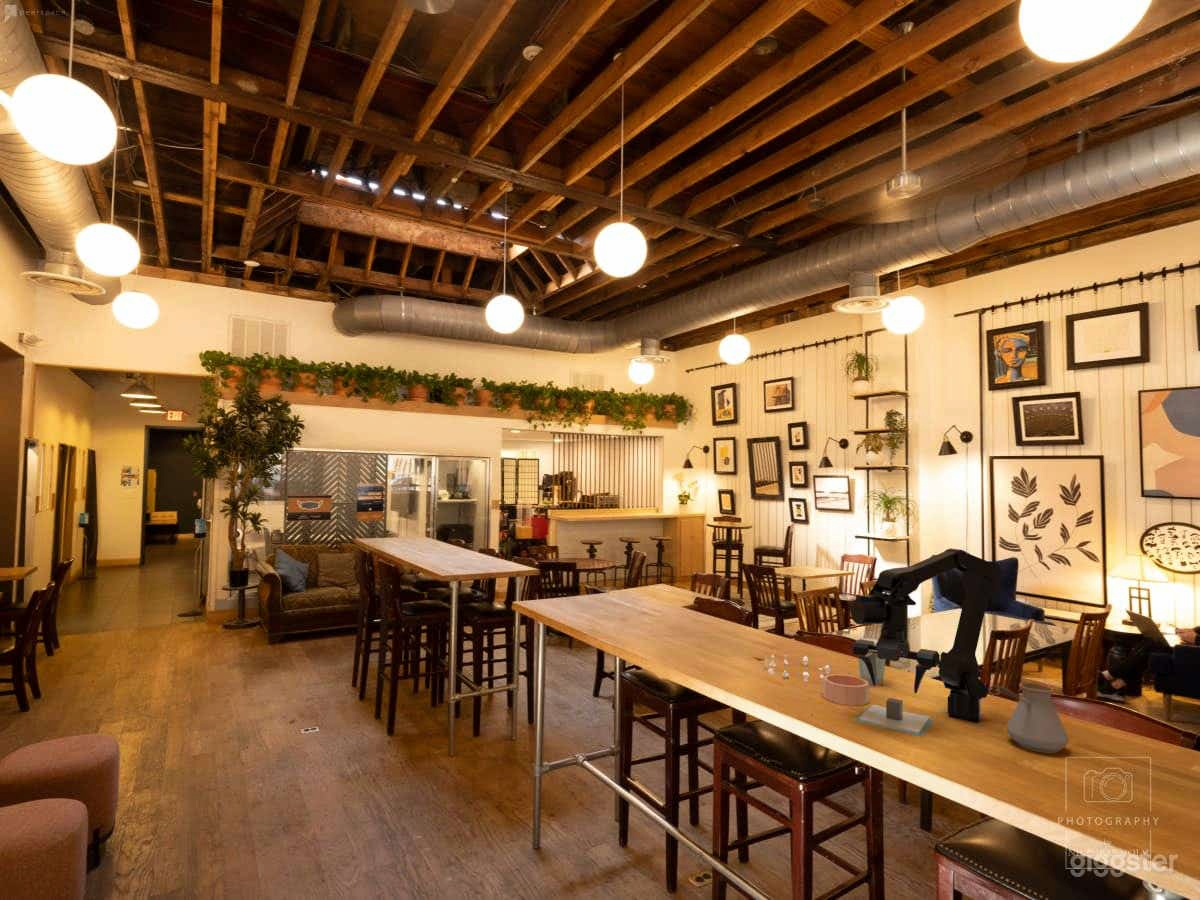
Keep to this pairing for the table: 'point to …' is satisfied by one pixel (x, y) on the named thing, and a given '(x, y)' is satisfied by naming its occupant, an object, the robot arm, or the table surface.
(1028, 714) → the coffee pot
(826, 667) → the game piece set
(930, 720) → the mat
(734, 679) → the table surface
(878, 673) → the coffee cup
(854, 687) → the pink round tub
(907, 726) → the lid
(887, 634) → the robot arm
